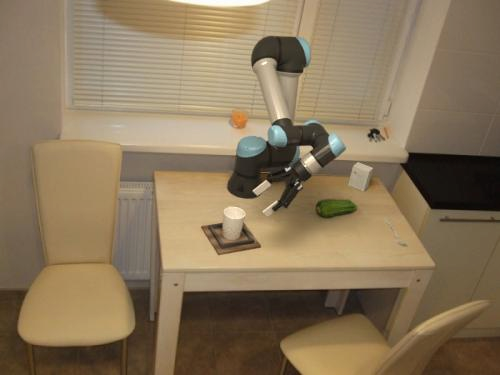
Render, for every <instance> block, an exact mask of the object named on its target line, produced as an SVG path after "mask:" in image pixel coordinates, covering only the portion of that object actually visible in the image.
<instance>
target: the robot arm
mask: <svg viewBox="0 0 500 375" xmlns="http://www.w3.org/2000/svg"><path fill="white" fill-rule="evenodd" d="M311 59H312V51H311V47H310V44H309V42H308V41H307V40H306V39H305V38H304V37H299V36H286V35H285V36H284V35H283V36H281V35H280V36H279V35H268V36H264V37H262V38H261V39H259V40H258V41H257V43H256V44H255V45H254V46H253V49H252V52H251V55H250V64H251V65H250V66H251V68H252V71H253V73H254V74H255V75H256V77H257V79H258V83H259V87H260V90H261V93H262V97H263V100H264V104H265V108H266V110H267V111H266V112H267V115H268V118H269V121H270V125H271V126H269V128H268V129H267V140H266V139H265V138H264V137H263V136H262V137H261V136H257V135H248V136H244V137H243V138H241V139H240V140H239V141H238V143H237V147H236V150H235V152H236V153H235V159H234V166H233V172H232V173H231V174H230V177H229V179H228V181H227V185H226V188H227V191H228V192H229V193H230V194H232V195H234V197H235V196H236V197H237V198H242V199H255V198H258V197H259V196H260V195H262V194H263V192H264V191H265V190H266V189H268V188H269V187H270V186H272V185H273V184H274V183H275V184H277V183H281V182H283V183H284V184H285V188H284V189H283V191H282V194H281V196H280V198H279V199H278V200H277V199H276V200H275V201H274V202H273V203H271V204H270V205H269V206H268V207H266V208H265V209H264V210H262V213H263V214H264V215H265V216H266V217H267V218H268V217H269V216H271V215H272V214H273V213H275V212H277V211H278V210H280V209H281V208H282V207H283V208H284V209H288V208H289V206H291V204H292V202H293V201H294V199H296V196H298V194H299V193H300V192H301V191H302V190H304V186H303V185H302V184H301V183H302V182H307V181H309V179H311V178H312V175H313V176H314V175H316V174H317V173H318V172H319V171H321V170H322V169H323V168H325V167H326V166H327V165H329V164H330V163H331V162H333V161H334V160H336V159H337V158H338V157H340V155H342V154H343V153H344V152H346V149H347V146H346V145H345V143H344V142H343V141H342V139H341V138H340V137H339V136H338V134H337V133H335V132H334V133H332V134H330V133H329V132H328V131H327V130H326V129H325V127H324V126H323V125H322V124H321V123H320V122H319V121H318V120H316V119H309V120H308V121H306V122H305V123H304V124H301V125H299V124H298V125H297V124H295V118H296V117H295V116H296V115H295V114H296V107H297V100H298V99H297V98H298V88H299V80H300V77H301V75H303V74H304V69H305V68H308V66H310V63H311ZM310 146H311V147H312V149H311V150H309V151H308V152H307V153H306V154H305V155H303V156H302V157H301V158H300V155H301V149H300V147H310ZM268 169H269V170H270V169H271V170H273V169H276V170H273V171H271V172H267V173H266V174H265V175H266V179H265V180H263V181H262V170H268Z"/></svg>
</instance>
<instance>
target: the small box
mask: <svg viewBox="0 0 500 375" xmlns="http://www.w3.org/2000/svg"><path fill="white" fill-rule="evenodd" d="M373 171H374V167H371V166H369V165H366V164H364V163H361V162H359V161H357V162H356V163H355V164H354V165H353V166H352V169H351V172H350V176H349V180H348V185H347V186H348V187H351V188H354V189H356V190H358V191H361V192H363V193H364V192H365V191H366V190H367V189H368V188H369V185H370V182H371V178H372V174H373Z"/></svg>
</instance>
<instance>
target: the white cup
mask: <svg viewBox="0 0 500 375" xmlns="http://www.w3.org/2000/svg"><path fill="white" fill-rule="evenodd" d="M245 218H246V212H245V210H243V209H242V208H240V207H238V206H237V207H236V206H228V207H226V208H225V209H223V216H222V223H223V230H222V235H223V237H224V238H226V239H228V240H236V239H238V238H239V237H240V234H241V231H242V227H243V223H245Z"/></svg>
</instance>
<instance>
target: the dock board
mask: <svg viewBox="0 0 500 375" xmlns="http://www.w3.org/2000/svg"><path fill="white" fill-rule="evenodd" d="M200 228H201V230H202V231H203V233H204V234H205V236H206V238H207V239H208V241H209V242H210V244H211V246H212V247H213V249H214V251H215V252H216V254H217V255H218V256H221V255H227V254H232V253H238V252H243V251H244V252H245V251H250V250H255V249H261V248H262V244H261V243H260V242H259V241H258V239H257V238H256V237H255V236H254V234H253V232H252V231H251V229H250V228H249V227H248V226H247V225H246V223H245V222H244V223H243V227H242V231H241V234H240V237H239V238H238V239H236V240H228V239H226V238H224V237H223V235H222V230H223V222H221V223H213V224H205V225H201V226H200Z"/></svg>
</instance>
